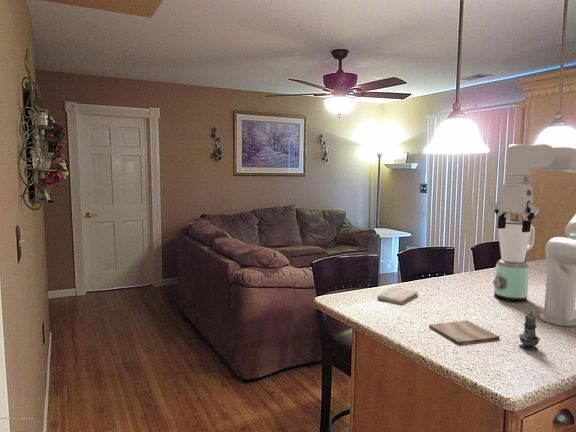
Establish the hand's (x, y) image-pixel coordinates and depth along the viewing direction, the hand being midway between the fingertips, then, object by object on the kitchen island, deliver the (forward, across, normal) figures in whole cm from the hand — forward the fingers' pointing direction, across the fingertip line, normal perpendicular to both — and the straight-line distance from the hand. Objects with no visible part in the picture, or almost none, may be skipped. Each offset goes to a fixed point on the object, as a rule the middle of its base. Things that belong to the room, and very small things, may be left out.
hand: (513, 230), depth 148 cm
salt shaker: (+36, -14, +7) cm, 39 cm away
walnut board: (+36, +3, +17) cm, 40 cm away
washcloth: (+36, +46, +12) cm, 59 cm away
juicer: (+35, +26, -34) cm, 55 cm away
